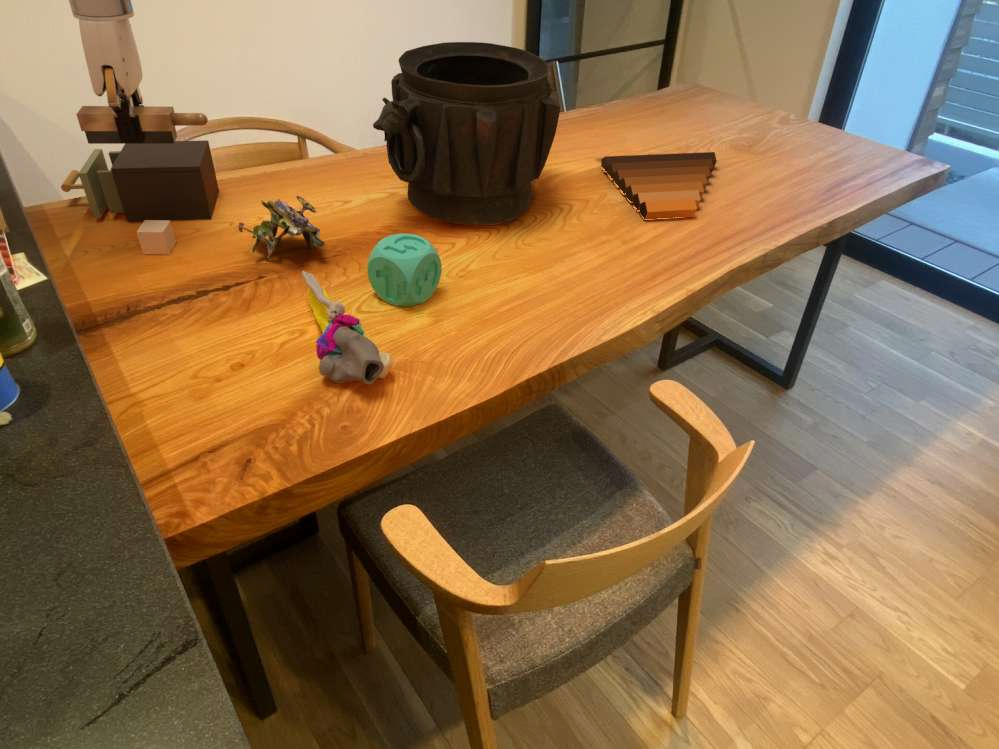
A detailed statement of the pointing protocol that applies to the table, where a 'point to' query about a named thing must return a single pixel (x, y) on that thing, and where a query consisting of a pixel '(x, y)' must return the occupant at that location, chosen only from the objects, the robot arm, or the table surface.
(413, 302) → the decorative dice
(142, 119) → the brush
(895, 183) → the table surface
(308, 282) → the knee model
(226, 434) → the table surface
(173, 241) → the felt block
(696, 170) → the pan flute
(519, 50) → the vessel
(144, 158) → the dark wooden cuboid
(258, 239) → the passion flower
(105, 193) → the drawer
